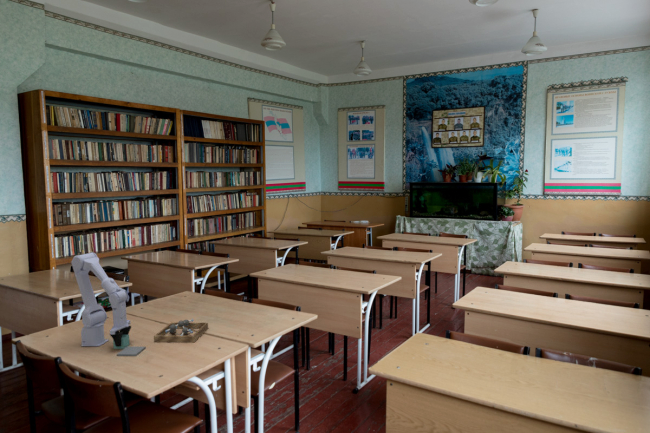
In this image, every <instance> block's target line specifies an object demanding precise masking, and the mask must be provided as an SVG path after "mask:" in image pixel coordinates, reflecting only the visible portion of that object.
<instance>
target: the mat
mask: <svg viewBox="0 0 650 433" xmlns="http://www.w3.org/2000/svg"><path fill="white" fill-rule="evenodd" d="M146 348H147V347H146V346H127V347H126V348H124V349H121V351H119V352H117V353H116V356H117V357H137V356H138V355H140V354H141V353H142V352H143V351H144V350H146Z"/></svg>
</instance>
